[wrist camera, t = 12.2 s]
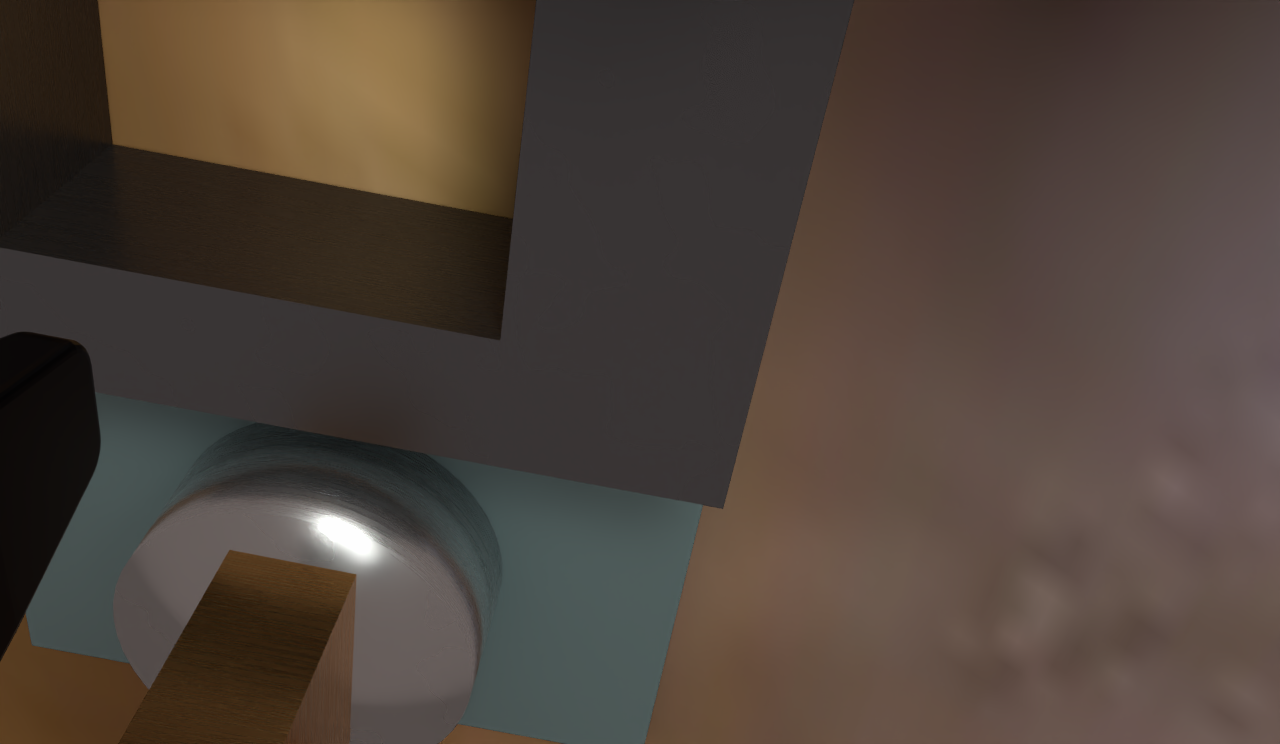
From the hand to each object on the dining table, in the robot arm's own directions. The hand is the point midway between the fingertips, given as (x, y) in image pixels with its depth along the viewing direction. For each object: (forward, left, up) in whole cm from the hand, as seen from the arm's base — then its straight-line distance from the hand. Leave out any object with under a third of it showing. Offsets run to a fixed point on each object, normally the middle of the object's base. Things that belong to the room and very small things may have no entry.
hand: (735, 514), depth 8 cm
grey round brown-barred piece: (+6, +13, -12) cm, 19 cm away
